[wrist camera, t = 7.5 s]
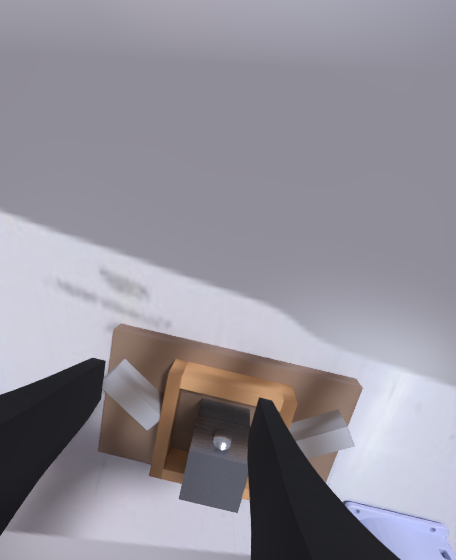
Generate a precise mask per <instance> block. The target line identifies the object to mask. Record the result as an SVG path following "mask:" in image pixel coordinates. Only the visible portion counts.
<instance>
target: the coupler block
mask: <svg viewBox="0 0 456 560" xmlns="http://www.w3.org/2000/svg"><path fill="white" fill-rule="evenodd" d="M249 430H250V409H248V408H244V407H240V406H235V405H231V404H227V403H222V402H218V401H214V400H209V399H205V398H202V400H201V405H200V409H199V413H198V417H197V421H196V425H195V429H194V433H193V438H192V442H191V446H190V450H189V454H188V459H187V464H186V468H185V473H184V477H183V482H182V487H181V491H180V496H179V499H180V500H185V501H189V502H193V503H197V504H202V505H206V506H210V507H214V508H219V509H223V510H227V511H231V512H236V513H238V510H239V506H240V503H241V500H242V496H243V493H244V489H245V486H246V482H247V479H248V463H247V452H248V434H249Z"/></svg>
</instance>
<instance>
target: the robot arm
mask: <svg viewBox="0 0 456 560" xmlns="http://www.w3.org/2000/svg"><path fill="white" fill-rule="evenodd" d="M105 362H106V361H104V360H100V359H96V358H91V359H88V360H86V361H84V362H81V363H79V364H77V365H74V366H72V367H70V368H68V369H65V370H63V371H61V372H58V373H56V374H54V375H51V376H49V377H47V378H44V379H42V380H39V381H36V382H34V383H31V384H29V385H26V386H24V387H21V388H18V389H16V390H13V391H10V392H7V393H4V394H1V395H0V535H1V534H2V533H3V531H4V530H5V528H6V527H7V525H8V524H9V522H10V521H11V519H12V518H13V516H14V515H15V513H16V512H17V510H18V509H19V507H20V506H21V504H22V503H23V502H24V500H25V499H26V497H27V496H28V494H29V493H30V492H31V490H32V489H33V487H34V486H35V484H36V483H37V482H38V480H39V479H40V478H41V476H42V475H43V474H44V472H45V471H46V470H47V469H48V467H49V466H50V465H51V464H52V463H53V461H54V460H55V459H56V458H57V457H58V455H59V454H60V453H61V452H62V450H63V449H64V448H65V447H66V446H67V444H68V443H69V442H70V441H71V440H72V438H73V437H74V436H75V435H76V433H77V432H78V431H79V430H80V428H81V427H82V426H83V425H84V424H85V422H86V421H87V420H88V418H89V417H90V415H91V414H92V412H93V411H94V409H95V407H96V406H97V404H98V403H99V401H100V399H101V394H102V386H103V378H104V370H105ZM247 463H248V481H249V497H250V513H251V560H456V553H455V552H454V550H453V549H452V547H451V546H450V544H449V543H448V541H447V539H446V537H447V536H448V534H449V530H448V529H447V527H446V526H445V525H443V524H440V523H436V522H432V521H428V520H423V519H419V518H415V517H411V516H407V515H403V514H399V513H394V512H390V511H386V510H382V509H378V508H374V507H370V506H365V505H361V504H357V503H353V502H347V503H346V504H345V505H344V504H343V503H342V501H341V500H340V499H339V498H338V497H337V496H336V495H335V494H334V493H333V491H332V490H331V489H330V488H329V487H328V485H327V484H326V483H325V482H324V480H323V479H322V478H321V477H320V475H319V474H318V473H317V471H316V470H315V469H314V468H313V466H312V465H311V463H310V462H309V461H308V459H307V458H306V456H305V455H304V453H303V452H302V450H301V449H300V447H299V446H298V444H297V443H296V441H295V439H294V438H293V436H292V435H291V433H290V431H289V430H288V428H287V426H286V424H285V423H284V421H283V419H282V417H281V415H280V414H279V412H278V410H277V408H276V406H275V404H274V403H273V401H272V400H269V399H264V398H260V397H259V399H258V402H257V406H256V409H255V413H254V416H253V420H252V423H251V427H250V430H249V434H248V452H247Z"/></svg>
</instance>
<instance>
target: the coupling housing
mask: <svg viewBox="0 0 456 560" xmlns="http://www.w3.org/2000/svg"><path fill="white" fill-rule="evenodd" d="M102 389H103V390H104V391H105V392H106V394H105V402H104V409H103V417H102V425H101V433H100V440H99V448H98V451H99V452H103V453H107V454H111V455H115V456H119V457H123V458H128V459H132V460H136V461H140V462H144V463H148V464H151V468H150V473H149V476H152V477H156V478H160V479H164V480H168V481H172V482H176V483H180V484H182V482H183V477H184V473H185V468H186V464H187V459H188V454H189V450H190V446H191V442H192V438H193V433H194V429H195V425H196V421H197V417H198V413H199V409H200V405H201V400H202V398H205V399H209V400H214V401H218V402H222V403H227V404H231V405H235V406H240V407H244V408H248V409H250V427H251V423H252V420H253V416H254V413H255V409H256V406H257V402H258V399H259V397H260V398H264V399H269V400H272V401H273V403H274V404H275V406H276V408H277V410H278V412H279V414H280V415H281V417H282V419H283V421H284V423H285V424H286V426H287V428H288V430H289V431H290V433H291V435H292V436H293V438H294V439H295V441H296V443H297V444H298V446H299V447H300V449H301V450H302V452H303V453H304V455H305V456H306V458H307V459H308V461H309V462H310V463H311V465H312V466H313V468H314V469H315V470H316V471H317V473H318V474H319V475H320V477H321V478H322V479H323V480H324V482H325V483H326V481H327V478H328V476H329V473H330V470H331V468H332V465H333V463H334V460H335V458H336V455H337V453H338V451H339V450H342V449H346V448H350V447H353V446H355V445H354V443H353V440H352V437H351V435H350V432H349V429H348V424H349V422H350V419H351V417H352V414H353V412H354V409H355V407H356V404H357V401H358V399H359V396H360V394H361V391H362V389H363V388H362V386H361V385H360V384H359V382H358V381H357V379H354V378H350V377H346V376H342V375H337V374H333V373H329V372H325V371H320V370H316V369H312V368H308V367H303V366H299V365H295V364H291V363H286V362H282V361H278V360H274V359H269V358H265V357H261V356H256V355H252V354H248V353H244V352H239V351H235V350H231V349H227V348H222V347H218V346H214V345H210V344H205V343H201V342H197V341H193V340H188V339H184V338H180V337H176V336H171V335H167V334H163V333H159V332H154V331H150V330H146V329H142V328H137V327H133V326H129V325H125V324H120V325H119V326H118V327H116V328H115V329H114V332H113V340H112V347H111V355H110V363H109V371H108V374H107V376H106V377H105V378H104V379H103V386H102ZM242 499H246V500H250V497H249V481H248V479H247V482H246V486H245V489H244V493H243V496H242Z"/></svg>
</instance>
